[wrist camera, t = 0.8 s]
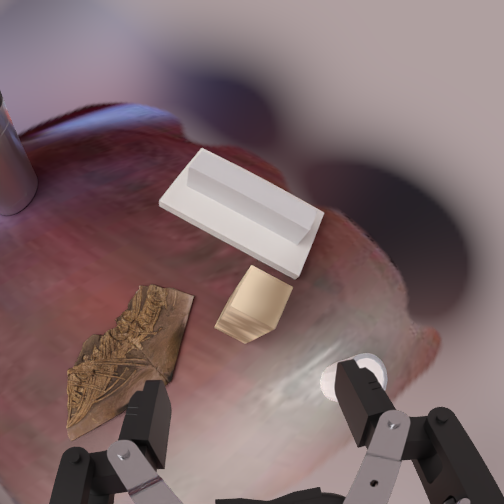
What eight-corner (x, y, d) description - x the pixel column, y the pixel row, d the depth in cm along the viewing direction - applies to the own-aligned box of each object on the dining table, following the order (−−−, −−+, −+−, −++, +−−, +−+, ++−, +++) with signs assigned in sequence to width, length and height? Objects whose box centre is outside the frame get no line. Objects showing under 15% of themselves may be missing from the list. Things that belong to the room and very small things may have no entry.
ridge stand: (159, 206, 42) (158, 181, 37) (200, 154, 48) (205, 128, 42) (295, 279, 43) (312, 264, 37) (320, 217, 48) (337, 197, 43)
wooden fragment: (161, 266, 39) (160, 263, 38) (223, 322, 38) (224, 321, 37) (35, 399, 27) (32, 399, 27) (95, 461, 27) (93, 463, 26)
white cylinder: (306, 381, 37) (331, 380, 31) (339, 348, 40) (367, 340, 34) (335, 415, 36) (364, 419, 30) (366, 381, 39) (396, 378, 33)
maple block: (214, 327, 37) (230, 306, 27) (229, 297, 39) (251, 264, 29) (245, 343, 37) (274, 329, 27) (260, 313, 39) (293, 287, 29)
